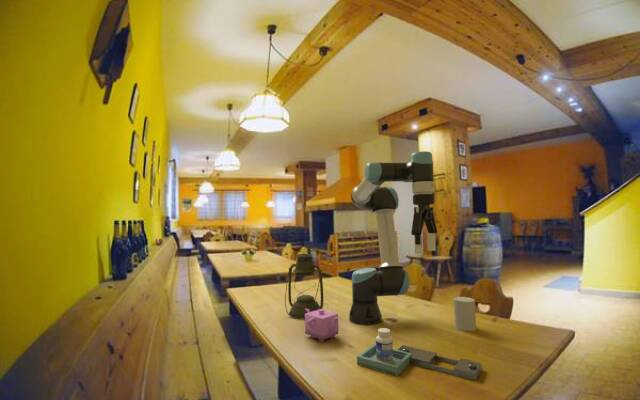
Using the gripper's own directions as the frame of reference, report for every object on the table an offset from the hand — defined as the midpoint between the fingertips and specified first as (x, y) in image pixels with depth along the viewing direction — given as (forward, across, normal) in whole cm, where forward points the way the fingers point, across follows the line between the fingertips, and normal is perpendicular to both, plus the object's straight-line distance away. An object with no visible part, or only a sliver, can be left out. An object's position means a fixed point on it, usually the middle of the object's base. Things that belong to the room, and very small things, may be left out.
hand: (425, 252), depth 116 cm
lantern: (+35, +10, +66) cm, 75 cm away
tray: (+35, -18, +9) cm, 40 cm away
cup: (+35, +31, -5) cm, 47 cm away
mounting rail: (+35, -10, -5) cm, 36 cm away
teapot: (+35, -11, +40) cm, 54 cm away
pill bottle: (+34, -18, +9) cm, 40 cm away
